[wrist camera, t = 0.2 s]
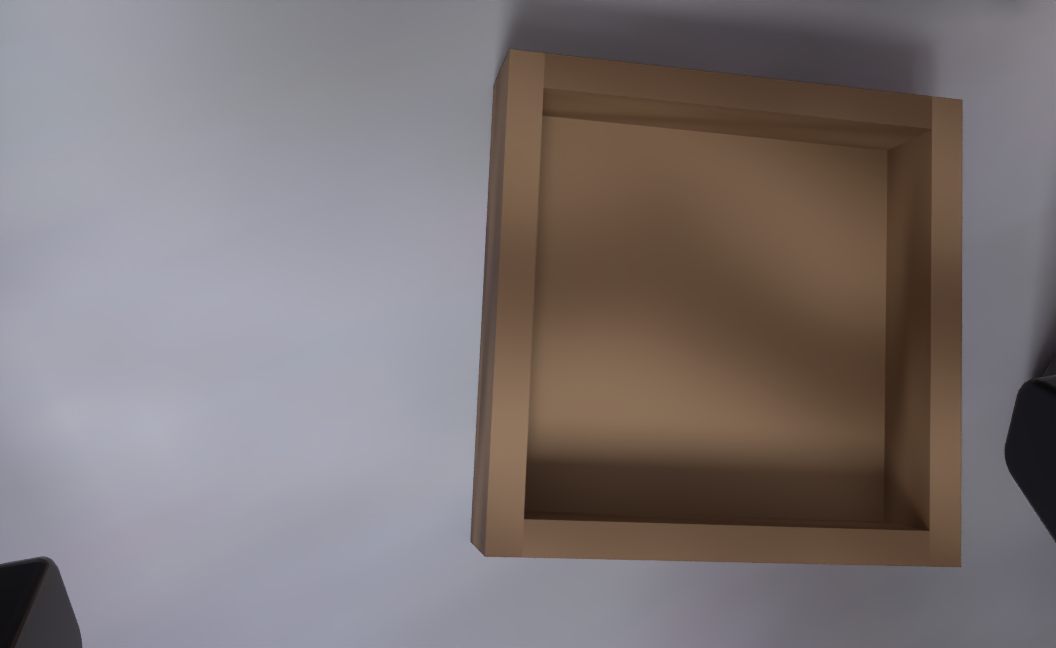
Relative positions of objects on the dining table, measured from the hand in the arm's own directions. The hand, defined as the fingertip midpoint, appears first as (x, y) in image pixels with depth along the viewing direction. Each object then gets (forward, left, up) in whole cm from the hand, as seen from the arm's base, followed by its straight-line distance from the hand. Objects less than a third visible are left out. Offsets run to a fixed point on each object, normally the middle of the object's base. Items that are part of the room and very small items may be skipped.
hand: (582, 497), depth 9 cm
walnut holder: (-2, -7, -15) cm, 16 cm away
